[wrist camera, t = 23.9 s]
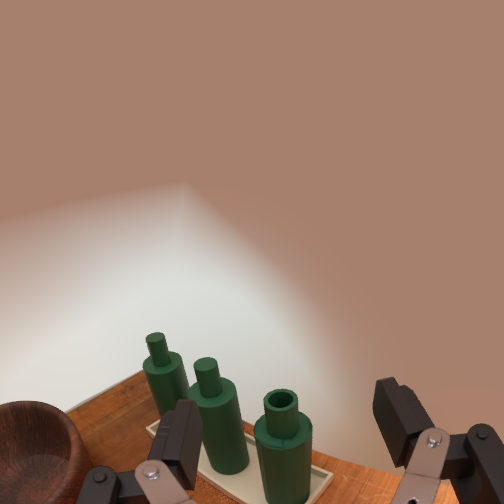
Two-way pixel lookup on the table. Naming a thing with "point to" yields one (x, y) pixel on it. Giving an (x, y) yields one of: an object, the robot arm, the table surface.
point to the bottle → (284, 449)
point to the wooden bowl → (40, 455)
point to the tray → (249, 476)
